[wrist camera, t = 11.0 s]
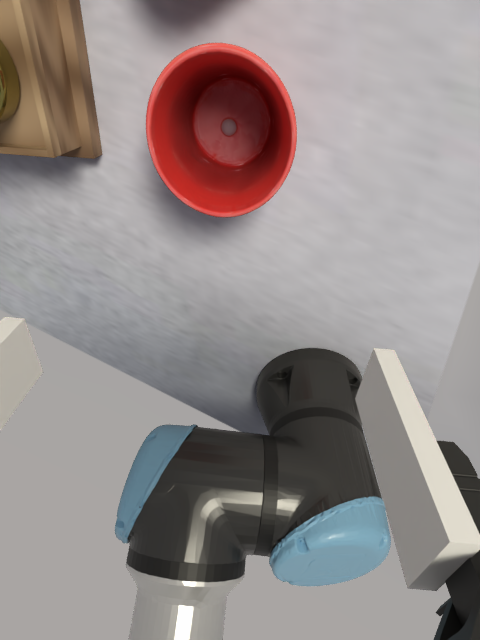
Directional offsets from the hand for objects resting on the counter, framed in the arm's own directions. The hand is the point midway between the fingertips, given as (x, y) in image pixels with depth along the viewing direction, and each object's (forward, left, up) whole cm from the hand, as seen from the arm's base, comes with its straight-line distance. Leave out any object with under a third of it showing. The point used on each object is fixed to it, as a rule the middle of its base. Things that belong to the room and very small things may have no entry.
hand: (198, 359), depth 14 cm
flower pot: (+5, +1, -27) cm, 27 cm away
